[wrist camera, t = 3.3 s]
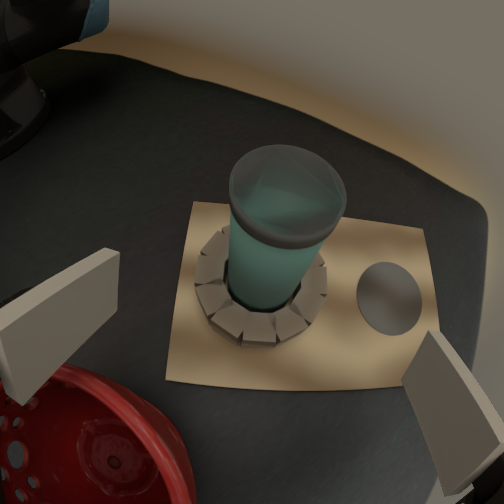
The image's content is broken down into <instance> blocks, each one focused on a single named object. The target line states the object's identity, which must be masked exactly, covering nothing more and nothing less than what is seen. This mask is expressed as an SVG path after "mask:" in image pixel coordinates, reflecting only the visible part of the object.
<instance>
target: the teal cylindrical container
mask: <svg viewBox="0 0 504 504" xmlns="http://www.w3.org/2000/svg"><path fill="white" fill-rule="evenodd" d="M346 200H347V199H346V191H345V187H344V184H343V182H342V180H341V178H340V176H339V175H338V173H337V172H336V171H335V169H334V168H333V167H332V166H331V165H330V164H329V163H328V162H326V161H325V160H324V159H322V158H321V157H319V156H318V155H316V154H314V153H312V152H310V151H308V150H305V149H302V148H299V147H295V146H289V145H269V146H264V147H260V148H257V149H255V150H252V151H250V152H249V153H247V154H245V155H244V156H243V157H242V158H241V159H240V160H239V161H238V162H237V163H236V165H235V166H234V168H233V170H232V172H231V175H230V181H229V206H230V232H229V258H228V289H227V291H228V293H229V295H230V297H231V299H232V300H233V301H235V302H236V303H238V304H239V305H241V306H242V307H244V308H245V309H247V310H248V311H250V312H259V313H274V312H276V311H278V310H280V309H282V308H284V306H285V305H286V303H287V302H288V300H289V298H290V297H291V295H292V294H293V292H294V291H295V289H296V287H297V286H298V284H299V283H300V281H301V279H302V278H303V276H304V274H305V273H306V271H307V270H308V268H309V266H310V265H311V263H312V261H313V260H314V258H315V256H316V255H317V253H318V252H319V250H320V248H321V247H322V245H323V243H324V241H325V240H326V238H327V237H328V236H329V235H330V234H331V233H332V232H333V230H334V229H335V227H336V225H337V224H338V222H339V220H340V219H341V217H342V215H343V213H344V211H345V207H346Z"/></svg>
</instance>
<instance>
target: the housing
mask: <svg viewBox="0 0 504 504" xmlns="http://www.w3.org/2000/svg"><path fill="white" fill-rule="evenodd" d="M229 232H230V206H229V204H218V203H206V202H193V207H192V212H191V217H190V222H189V227H188V232H187V237H186V243H185V248H184V254H183V259H182V265H181V271H180V277H179V283H178V289H177V295H176V302H175V309H174V316H173V323H172V330H171V337H170V345H169V353H168V361H167V370H166V379H165V380H169V381H176V382H183V383H191V384H199V385H208V386H217V387H228V388H241V389H256V390H280V391H336V390H359V389H374V388H386V387H397V386H403V384H402V381H401V378H402V377H403V375H404V373H405V372H406V370H407V368H408V367H409V365H410V363H411V361H412V360H413V358H414V356H415V354H416V352H417V350H418V349H419V347H420V345H421V343H422V341H423V339H424V337H425V335H426V333H427V331H428V330H431V331H436V332H440V330H439V320H438V312H437V304H436V297H435V290H434V284H433V278H432V272H431V267H430V261H429V256H428V251H427V247H426V242H425V238H424V233H423V229H418V228H412V227H406V226H400V225H393V224H387V223H380V222H373V221H366V220H359V219H352V218H345V217H341V219H340V220H339V222H338V224H337V225H336V227H335V229H334V230H333V232H332V233H331V234H330V235H329V236H328V237H327V238H326V240H325V241H324V243H323V245H322V247H321V248H320V250H319V252H318V253H317V255H316V256H315V258H314V260H313V261H312V263H311V265H310V266H309V268H308V270H307V271H306V273H305V274H304V276H303V278H302V279H301V281H300V283H299V284H298V286H297V287H296V289H295V291H294V292H293V294H292V295H291V297H290V298H289V300H288V302H287V303H286V305H285V306H284V308H282V309H280V310H278V311H276V312H274V313H259V312H250V311H248V310H247V309H245V308H244V307H242V306H241V305H239V304H238V303H236V302H235V301H233V300H232V299H231V297H230V295H229V293H228V291H227V289H228V258H229Z"/></svg>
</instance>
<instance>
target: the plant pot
mask: <svg viewBox="0 0 504 504" xmlns="http://www.w3.org/2000/svg"><path fill="white" fill-rule="evenodd" d="M8 397H9V396H8V395H7V394H6V392H5V390H4V387H3V384H2V382H1V381H0V416H3V417H4V418H3V423H2V425H1V427H0V467H2V468H3V470H4V472H5V480H4V481H3V480H2V484H3V490H4V496H5V501H6V504H197V490H196V483H195V479H194V474H193V469H192V466H191V463H190V460H189V456H188V452H187V449H186V446H185V444H184V441H183V439H182V437H181V435H180V433H179V432H178V430H177V429H176V427H175V426H174V424H173V423H172V422H171V421H170V419H169V418H168V417H167V416H166V415H165V414H164V413H163V412H162V411H160V410H159V409H158V408H157V407H156V406H155V405H153V404H152V403H150V402H149V401H147V400H145V399H144V398H142V397H140V396H138V395H136V394H135V393H134V392H132V391H131V390H129V389H128V388H126V387H125V386H123V385H121V384H119V383H117V382H115V381H113V380H111V379H109V378H107V377H104V376H102V375H100V374H97V373H95V372H92V371H89V370H86V369H83V368H80V367H76V366H73V365H69V364H66V363H63V364H62V365H61V366H60V367H59V368H58V369H57V370H56V371H55V373H54V374H53V375H52V376H51V377H50V378H49V379H48V380H47V381H46V382H45V383H44V384H43V385H42V386H41V387H40V388H39V389H38V390H37V391H36V392H35V393H34V395H33V396H32V397H34V399H33V400H32V401H31V402H29V403H27V404H24V405H23V406H22V405H20V404H19V403H18V402H16V401H15V400H13V399H12V398H11V397H10V398H9V399H7V398H8ZM16 417H20V421H19V423H18V424H17V425H16V426H15V427H13V421H14V419H15V418H16ZM13 441H19V442H20V443H21V445H22V448H23V452H24V461H23V464H22V466H21V467H20V468H19V469H15V468H13V467H12V466H11V464H10V462H9V460H8V455H7V449H8V446H9V445H10V444H11V443H12V442H13ZM29 476H30V477H32V478H33V480H34V481H35V483H36V488H35V489H34V488H32V487H31V486H30V485H29V483H28V477H29ZM16 489H17V490H19V491H20V492H21V493H22V495H23V496H24V502H22V501H20V500H19V499H18V498H17V496H16V494H15V490H16Z"/></svg>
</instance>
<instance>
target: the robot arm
mask: <svg viewBox="0 0 504 504" xmlns="http://www.w3.org/2000/svg"><path fill="white" fill-rule="evenodd" d="M108 23H109V0H0V159H2V158H4V157H6V156H8V155H9V154H11V153H12V152H14V151H15V150H17V149H18V148H19V147H21V146H22V145H23V144H24V143H26V142H27V141H28V140H29V139H30V138H31V137H32V136H33V135H34V134H35V133H36V132H37V131H38V130H39V129H40V127H41V126H42V125H43V124H44V122H45V121H46V119H47V117H48V115H49V113H50V109H51V105H50V102H49V99H48V97H47V95H46V93H45V92H44V91H43V90H42V89H40V88H39V86H38V85H37V84H36V82H35V81H34V80H33V79H32V78H31V77H30V76H29V75H28V74H27V72H26V69H25V67H24V63H26V62H28V61H30V60H32V59H34V58H37V57H39V56H41V55H44V54H46V53H48V52H51V51H53V50H56V49H58V48H61V47H63V46H66V45H69V44H71V43H74V42H80V41H81V40H83V39H84V38H87V37H90V36H93V35H96V34H98V33H100V32H102V31H103V30H104V29H105V28H106V27H107V25H108ZM119 259H120V252H117V251H114V250H111V249H108V248H103V249H101V250H99V251H98V252H96V253H94V254H92V255H90V256H88V257H87V258H85V259H83V260H81V261H79V262H77V263H76V264H74V265H72V266H70V267H69V268H67V269H65V270H63V271H62V272H60V273H58V274H56V275H55V276H53V277H51V278H49V279H48V280H46V281H44V282H43V283H41V284H39V285H38V286H36V287H31V288H27V289H24V290H21V291H19V292H18V293H16V294H14V295H13V296H11V298H8V299H6V300H4V301H3V303H0V381H1V382H2V384H3V387H4V390H5V392H6V394H7V395H8V396H9V397H11V398H12V399H13V400H15V401H16V402H18V403H19V404H20V405H22V406H23V405H24V404H25V403H26V402H27V401H28V400H29V399H30V398H31V397H32V396H33V395H34V393H35V392H36V391H37V390H38V389H39V388H40V387H41V386H42V385H43V384H44V383H45V382H46V381H47V380H48V379H49V378H50V377H51V376H52V375H53V374H54V373H55V371H56V370H57V369H58V368H59V367H60V366H61V365H62V364H63V363H64V362H65V361H66V360H67V359H68V358H69V357H70V356H71V355H72V354H73V353H74V352H75V351H76V350H77V349H78V348H79V347H80V346H81V345H82V344H83V343H84V342H85V341H86V340H87V339H88V338H89V337H90V336H91V335H92V334H93V333H94V332H95V331H96V330H97V329H99V328H100V327H101V326H102V325H103V324H104V323H105V322H106V321H107V320H108V319H109V318H110V317H111V316H112V315H113V314H114V313H115V312H116V311H117V296H118V275H119ZM401 381H402V384H403V386H404V388H405V391H406V393H407V395H408V398H409V400H410V403H411V405H412V407H413V410H414V412H415V415H416V417H417V420H418V422H419V425H420V427H421V430H422V433H423V435H424V438H425V441H426V443H427V446H428V449H429V451H430V454H431V457H432V460H433V463H434V465H435V468H436V471H437V474H438V477H439V480H440V483H441V486H442V489H443V493H444V496H450V495H454V494H459V493H461V492H462V491H463V490H464V489H466V488H467V487H468V486H469V485H470V484H471V483H472V484H473V487H474V489H473V490H472V491H470V492H469V493H468V494H467V495H466V496H464V497H463V498H462V499H461V500H460V501H458V502H457V503H456V504H462V503H464V504H504V422H503V421H502V420H501V417H500V416H499V414H498V413H497V411H496V410H495V408H494V406H493V405H492V403H491V402H490V400H489V399H488V397H487V396H486V394H485V393H484V391H483V390H482V389H481V387H480V385H479V384H478V383H477V381H476V380H475V378H474V377H473V375H472V374H471V372H470V371H469V370H468V368H467V367H466V365H465V364H464V363H463V361H462V360H461V358H460V357H459V356H458V354H457V353H456V352H455V350H454V349H453V348H452V346H451V345H450V344H449V342H448V341H447V340H446V338H445V337H444V336H443V334H442V333H441V332H436V331H431V330H428V331H427V333H426V335H425V337H424V339H423V341H422V343H421V345H420V347H419V349H418V350H417V352H416V354H415V356H414V358H413V360H412V361H411V363H410V365H409V367H408V368H407V370H406V372H405V373H404V375H403V377H402V378H401ZM0 504H6V501H5V496H4V490H3V484H2V477H1V469H0Z"/></svg>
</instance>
